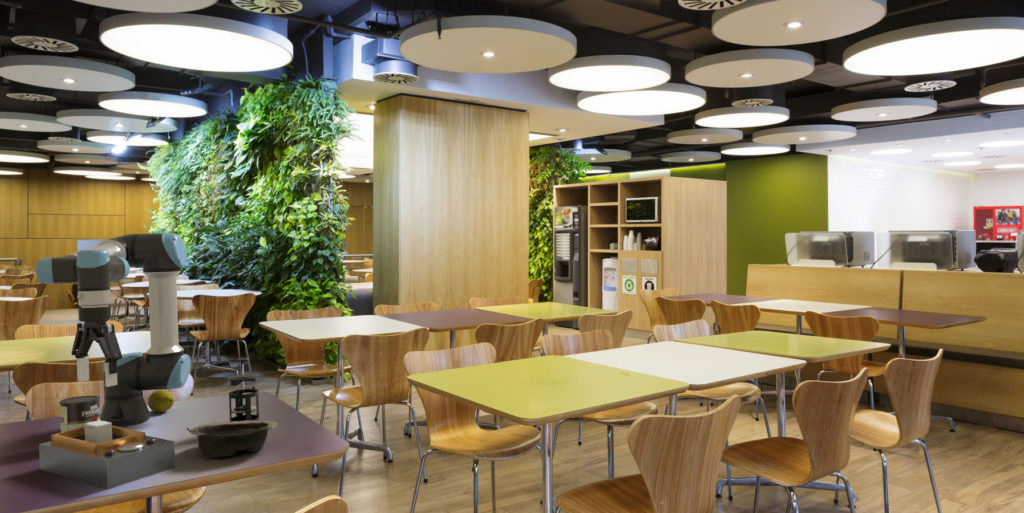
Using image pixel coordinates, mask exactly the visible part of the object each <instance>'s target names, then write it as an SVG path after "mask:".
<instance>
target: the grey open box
mask: <svg viewBox="0 0 1024 513" xmlns="http://www.w3.org/2000/svg"><path fill="white" fill-rule="evenodd" d="M175 442H176V441H173V440H169V439H164V438H160V437H156V436H149V435H146V431H141V430H135V429H130V428H126V427H122V426H121V427H116V426H112V440H111V441H107V442H103V443H99V444H97V443H92V442H88V441H85V427H82V428H77V429H73V430H69V431H65V432H61V431H60V432H57V433H56V432H55V433H52V434H50V441H46V442H43V443H39V444H38V449H39V450H38V452H39V453H38V454H39V458H38V459H39V470H40V469H41V470H40V471H42V470H44V471H43V472H46V471H47V472H46V473H49V472H51V473H50V474H53V473H54V475H56V474H57V476H60V475H61V477H63V476H64V477H63V478H67V477H68V479H70V478H72V479H71V480H74V479H75V481H77V480H78V482H81V483H84V482H85V484H88V483H89V485H91V484H92V486H95V485H96V486H95V487H98V486H100V487H99V488H102V487H103V489H105V488H106V490H109V489H113V488H116V487H119V486H122V485H124V484H127V483H130V482H135V481H136V480H139V479H140V480H141V479H142V478H147V477H149V476H152V475H155V474H158V473H162V472H164V471H167V470H170V469H174V468H176V450H175V449H176V447H175V446H176V445H175ZM118 485H119V486H118ZM115 486H116V487H115Z"/></svg>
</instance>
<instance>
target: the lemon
mask: <svg viewBox="0 0 1024 513" xmlns="http://www.w3.org/2000/svg"><path fill="white" fill-rule="evenodd" d="M174 403H175V399H174V396H173V394H172V393H171V392H169V390H166V389H162V390H154V391H153V392H151V394H150V395H149V396H148V399H147V407H149V408H148V409H150V410H151V411H152V412H154V413H163V412H166V411H168V410H170V409H171V408H172V407H173V405H174Z"/></svg>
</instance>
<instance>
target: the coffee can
mask: <svg viewBox="0 0 1024 513" xmlns="http://www.w3.org/2000/svg"><path fill="white" fill-rule="evenodd" d="M100 399H101V397H100V396H99V395H78V396H74V397H73V396H72V397H68V398H65V399H61V400H60V401H59V407H60V408H59V409H60V410H59V411H60V433H61V432H65V431H69V430H73V429H77V428H82V427H85V424H86V423H89V422H94V421H98V420H100V413H101V409H100V408H101V407H100Z"/></svg>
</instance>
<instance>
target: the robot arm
mask: <svg viewBox="0 0 1024 513" xmlns="http://www.w3.org/2000/svg"><path fill="white" fill-rule="evenodd" d="M187 253H188V252H187V248H186V244H185V242H184V240H183V239H182V237H181V236H180V235H179V234H177V233H169V232H168V233H167V232H163V233H162V232H161V233H128V234H124V235H120V236H116V237H113V238H109V239H105V240H102V241H101V242H100V243H98V244H97V246H93V247H90V248H87V249H82V250H79V251H76V252H73V253H70V254H66V255H63V256H57V257H56V256H55V257H53V256H49V257H42V258H40V259H38V261H37V262H36V265H35V276H36V279H37V280H38V282H39V283H41V284H44V285H45V284H46V285H57V284H60V285H61V284H77V296H76V297H77V299H78V302H77V303H78V306H79V308H78V321H79V322H78V323H77V324H76V333H75V336H74V341H73V345H72V350H71V353H70V354H71V356H74V357H75V359H76V368H77V369H76V371H77V375H76V376H77V377H76V378H77V383H83V382H89V381H90V363H89V360H90V359H89V357H90V356H89V351H90V349H91V347H92V345H93V343H94V342H95V343H97V344H98V346H99V348H100V349H101V351H102V353H103V355H104V359H105V360H104V361H103V364H102V365H103V368H102V377H103V378H102V380H103V397H104V398H103V404H102V408H101V409H100V421H107V422H110V423H112V426H116V427H121V428H122V427H126V426H127V427H128V426H133V425H137V424H142V423H144V422H147V421H148V420H150V418H151V417H150V416H151V415H150V410H149V408H148V404H147V402H146V401H145V399H144V391H157V390H166V391H170V390H174V389H181V388H183V386H185V385H186V383H187V382H188V378H189V375H190V371H191V365H192V364H191V359H190V358H191V357H190V355H189V354H186V353H184V351H185V350H184V348H183V347H182V346H181V345H180V344H179V319H178V316H179V315H178V314H179V313H178V289H177V287H178V286H177V285H178V284H177V277H178V275H179V274H181V272H182V267H185V266H186V264H187V260H188V254H187ZM131 268H142V274H144V275H145V276H146V277H147V278H148V280H147V281H148V302H149V303H148V304H149V330H150V333H149V334H150V348H148V350H146V352H145V356H143V353H142V351H136V352H129V353H123V354H122V351H121V348H120V344H119V341H118V337H117V335H116V330H115V324H113V323H111V324H107V321H110V320H111V319H112V308H111V306H110V305H111V304H112V303H111V302H112V300H111V283H118V282H121V281H123V280H124V279H126V278H127V277H128V276H129V273H130V272H131V271H130V270H131Z"/></svg>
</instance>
